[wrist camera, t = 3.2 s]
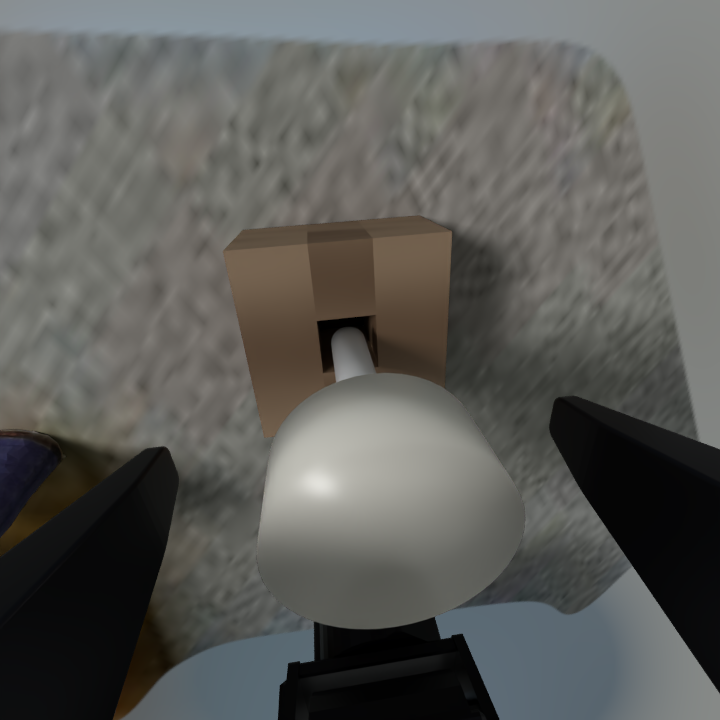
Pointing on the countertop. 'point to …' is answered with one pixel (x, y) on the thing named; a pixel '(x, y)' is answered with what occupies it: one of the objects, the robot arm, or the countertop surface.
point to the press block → (338, 302)
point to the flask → (23, 469)
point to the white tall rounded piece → (383, 500)
